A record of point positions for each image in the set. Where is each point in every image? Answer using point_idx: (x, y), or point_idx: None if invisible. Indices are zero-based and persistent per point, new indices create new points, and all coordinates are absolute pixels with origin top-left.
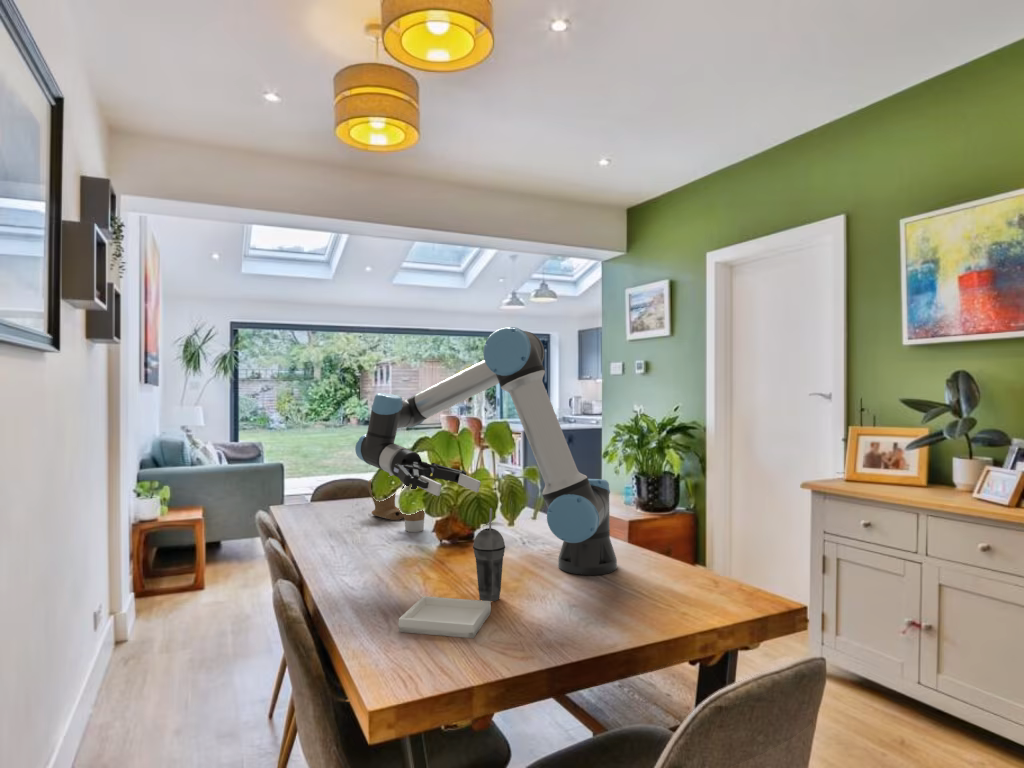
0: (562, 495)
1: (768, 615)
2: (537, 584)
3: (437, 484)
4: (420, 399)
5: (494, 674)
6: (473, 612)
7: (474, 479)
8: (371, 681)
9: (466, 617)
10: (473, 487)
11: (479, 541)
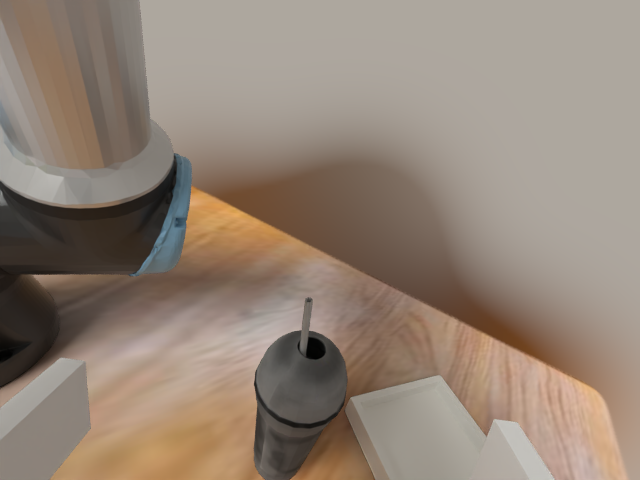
0: (182, 169)
1: (201, 190)
2: (143, 399)
3: (525, 442)
4: None
5: (464, 330)
6: (381, 423)
7: (32, 401)
8: (601, 434)
9: (406, 422)
10: (60, 443)
11: (346, 375)
